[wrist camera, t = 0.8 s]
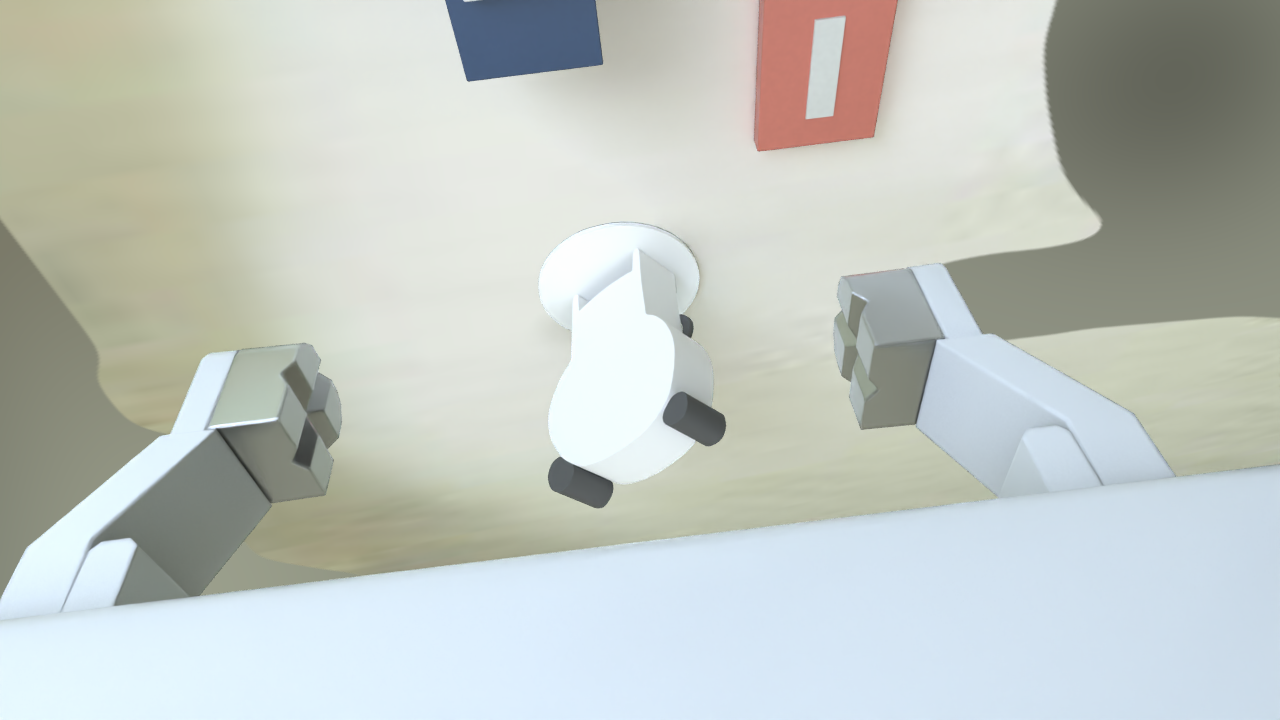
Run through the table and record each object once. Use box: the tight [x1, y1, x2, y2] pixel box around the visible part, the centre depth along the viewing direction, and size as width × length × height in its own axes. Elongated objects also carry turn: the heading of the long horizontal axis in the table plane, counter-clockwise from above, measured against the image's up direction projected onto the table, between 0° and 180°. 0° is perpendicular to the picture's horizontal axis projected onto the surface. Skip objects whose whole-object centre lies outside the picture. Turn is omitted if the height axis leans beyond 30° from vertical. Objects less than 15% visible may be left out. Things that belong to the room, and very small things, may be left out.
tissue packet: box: [754, 0, 898, 151], centre depth 45 cm, size 10×7×1 cm
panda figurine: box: [538, 223, 726, 508], centre depth 53 cm, size 12×11×15 cm
